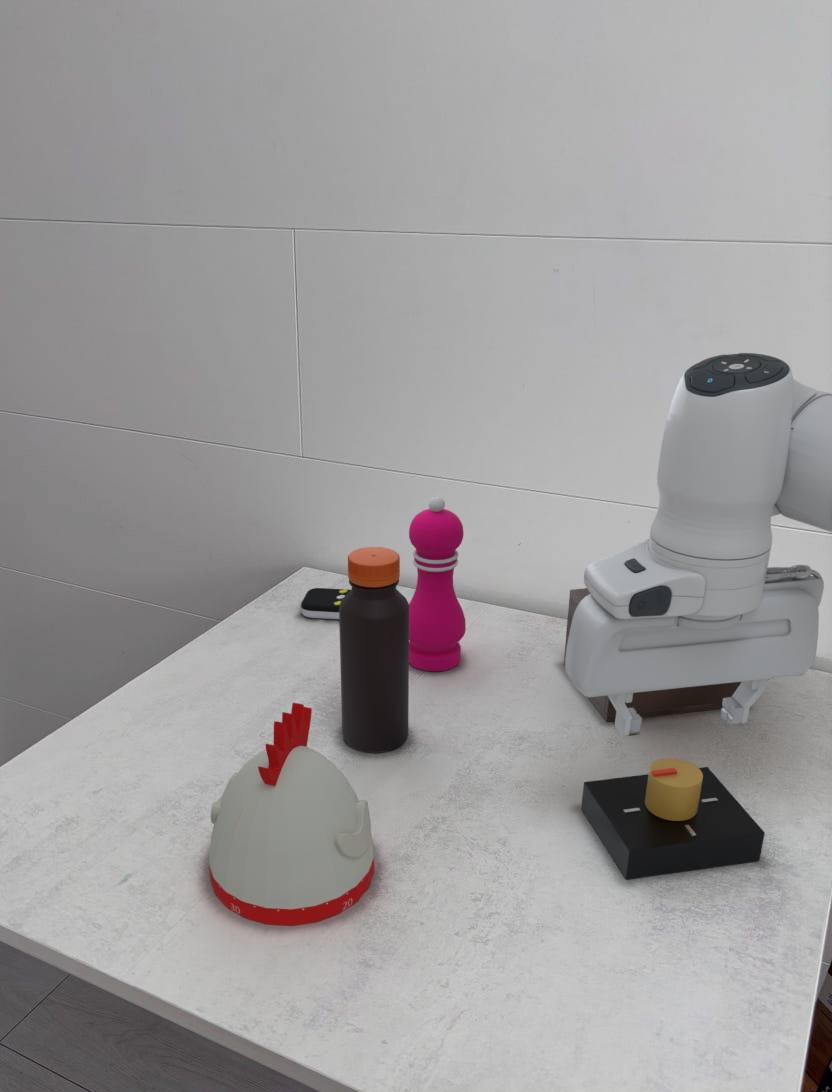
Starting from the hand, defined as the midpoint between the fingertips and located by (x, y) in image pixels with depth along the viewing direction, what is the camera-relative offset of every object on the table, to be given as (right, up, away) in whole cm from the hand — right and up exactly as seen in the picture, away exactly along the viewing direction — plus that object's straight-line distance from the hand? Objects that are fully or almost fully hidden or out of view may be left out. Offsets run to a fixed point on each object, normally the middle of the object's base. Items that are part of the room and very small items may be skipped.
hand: (680, 726), depth 85 cm
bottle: (-25, -3, +20) cm, 32 cm away
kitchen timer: (-32, -12, +2) cm, 35 cm away
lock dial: (0, -7, +4) cm, 8 cm away
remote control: (-27, +11, +47) cm, 55 cm away
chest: (+6, +2, +28) cm, 29 cm away
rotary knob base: (0, -10, +5) cm, 11 cm away
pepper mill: (-18, +5, +35) cm, 39 cm away
